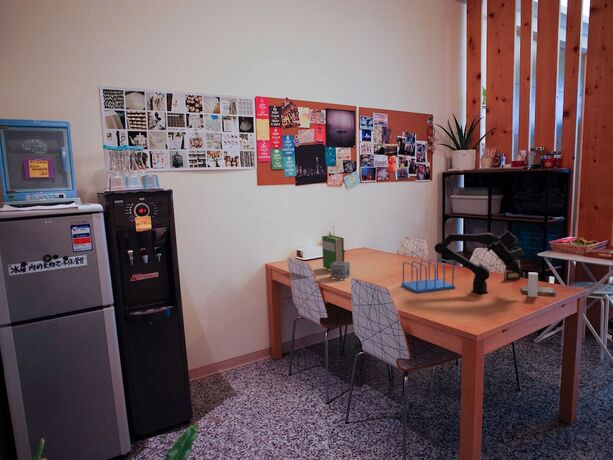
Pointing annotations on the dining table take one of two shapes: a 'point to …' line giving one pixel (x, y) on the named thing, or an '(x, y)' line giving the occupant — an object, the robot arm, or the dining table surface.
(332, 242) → the hardback book
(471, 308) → the dining table surface
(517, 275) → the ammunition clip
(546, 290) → the plank
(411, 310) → the dining table surface
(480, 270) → the robot arm
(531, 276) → the white box
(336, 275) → the icon cube
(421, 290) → the file sorter
